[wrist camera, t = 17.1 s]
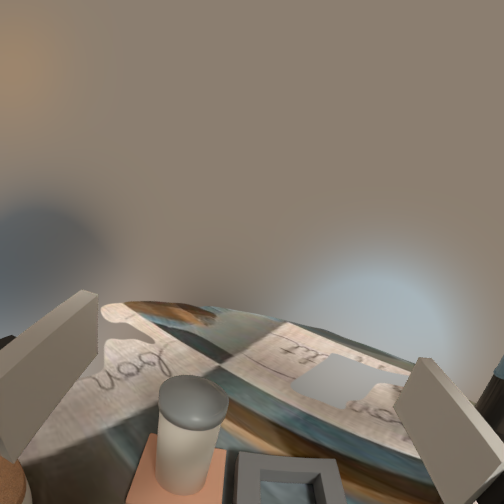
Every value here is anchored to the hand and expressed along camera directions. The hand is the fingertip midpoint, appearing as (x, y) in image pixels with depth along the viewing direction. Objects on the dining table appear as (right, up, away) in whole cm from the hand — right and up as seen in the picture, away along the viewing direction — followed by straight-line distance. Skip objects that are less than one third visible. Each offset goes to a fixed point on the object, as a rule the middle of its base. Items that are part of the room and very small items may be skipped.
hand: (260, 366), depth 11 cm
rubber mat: (-10, -25, +20) cm, 33 cm away
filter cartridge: (-9, -24, +19) cm, 32 cm away
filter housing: (+4, -28, +18) cm, 34 cm away
